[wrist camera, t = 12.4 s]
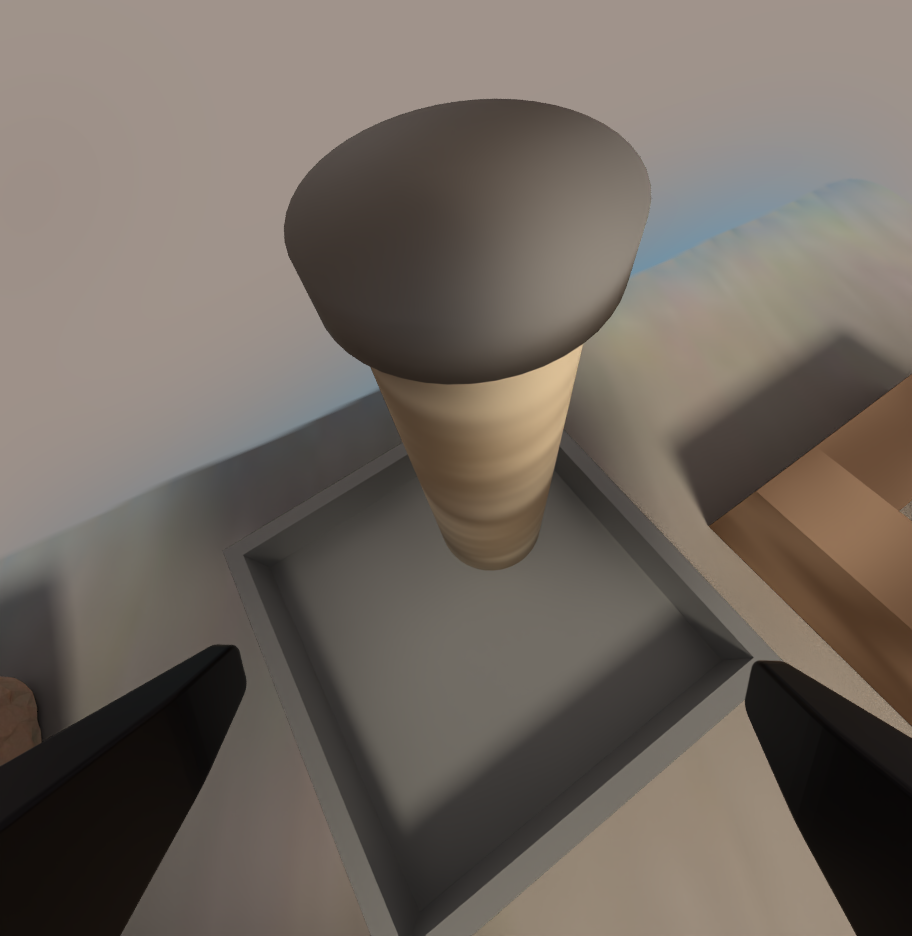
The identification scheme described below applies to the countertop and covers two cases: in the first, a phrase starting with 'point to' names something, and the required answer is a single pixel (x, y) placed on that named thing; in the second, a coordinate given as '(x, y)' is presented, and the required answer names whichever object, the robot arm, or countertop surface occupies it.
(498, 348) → the pin
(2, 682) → the brick
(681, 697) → the tray
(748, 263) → the countertop surface
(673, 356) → the countertop surface
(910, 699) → the socket block
